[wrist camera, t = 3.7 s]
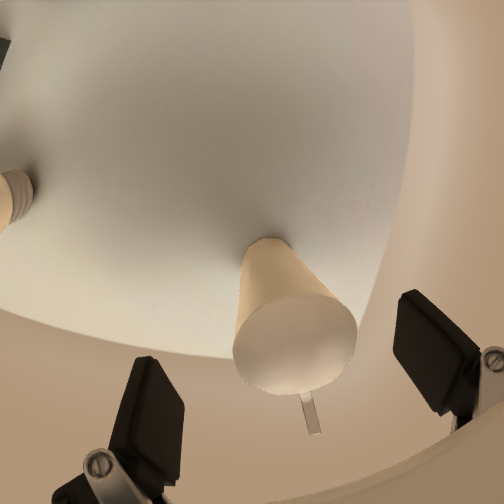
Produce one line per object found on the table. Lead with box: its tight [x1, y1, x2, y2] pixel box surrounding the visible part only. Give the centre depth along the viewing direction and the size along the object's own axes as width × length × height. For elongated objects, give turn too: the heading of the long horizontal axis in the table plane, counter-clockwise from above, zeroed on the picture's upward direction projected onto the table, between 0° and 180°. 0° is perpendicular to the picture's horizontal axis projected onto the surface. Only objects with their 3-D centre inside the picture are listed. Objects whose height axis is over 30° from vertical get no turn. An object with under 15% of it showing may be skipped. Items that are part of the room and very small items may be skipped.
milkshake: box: [233, 238, 357, 435], centre depth 12 cm, size 5×5×10 cm
